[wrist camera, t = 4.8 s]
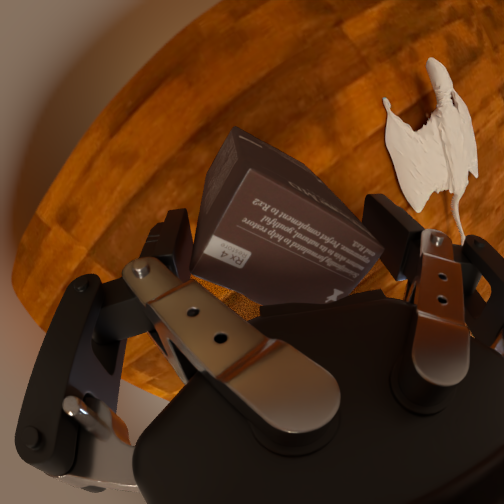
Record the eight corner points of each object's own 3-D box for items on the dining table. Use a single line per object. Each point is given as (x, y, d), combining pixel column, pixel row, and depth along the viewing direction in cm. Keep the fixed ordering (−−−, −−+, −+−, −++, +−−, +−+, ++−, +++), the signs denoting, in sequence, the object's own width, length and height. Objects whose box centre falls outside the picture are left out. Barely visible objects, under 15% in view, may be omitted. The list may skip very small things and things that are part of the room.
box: (306, 160, 19) (392, 251, 9) (274, 209, 21) (319, 331, 11) (233, 118, 17) (249, 165, 7) (202, 174, 19) (182, 284, 9)
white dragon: (477, 211, 23) (500, 230, 20) (410, 253, 25) (432, 278, 22) (445, 47, 14) (479, 48, 10) (355, 74, 16) (385, 75, 12)
